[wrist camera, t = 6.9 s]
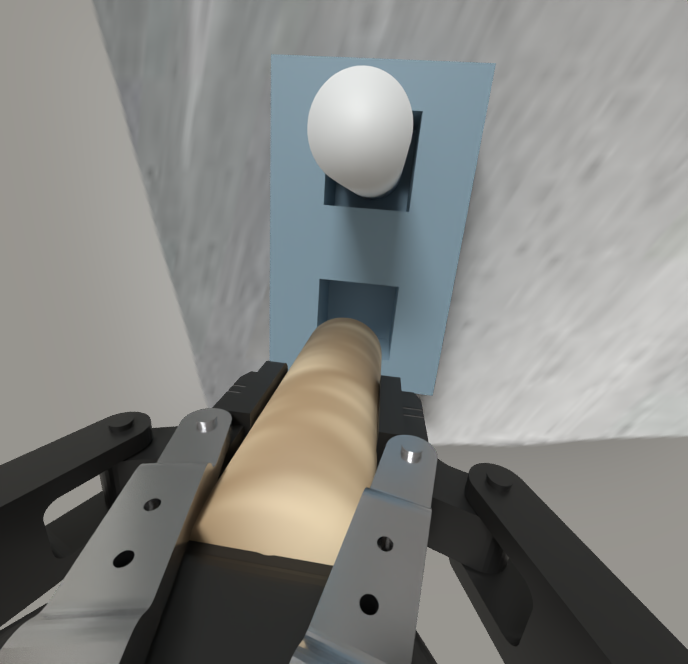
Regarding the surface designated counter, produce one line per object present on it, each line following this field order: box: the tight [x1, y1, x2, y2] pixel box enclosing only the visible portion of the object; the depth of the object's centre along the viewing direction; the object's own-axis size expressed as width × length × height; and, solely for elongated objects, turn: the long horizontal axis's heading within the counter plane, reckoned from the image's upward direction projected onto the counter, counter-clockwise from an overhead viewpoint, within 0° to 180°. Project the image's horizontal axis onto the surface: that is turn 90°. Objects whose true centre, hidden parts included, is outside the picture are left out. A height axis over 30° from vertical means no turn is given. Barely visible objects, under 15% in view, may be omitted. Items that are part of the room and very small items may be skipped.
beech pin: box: [189, 318, 382, 565], centre depth 11 cm, size 4×4×11 cm
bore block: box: [270, 54, 496, 396], centre depth 19 cm, size 11×18×12 cm, turn 175°
